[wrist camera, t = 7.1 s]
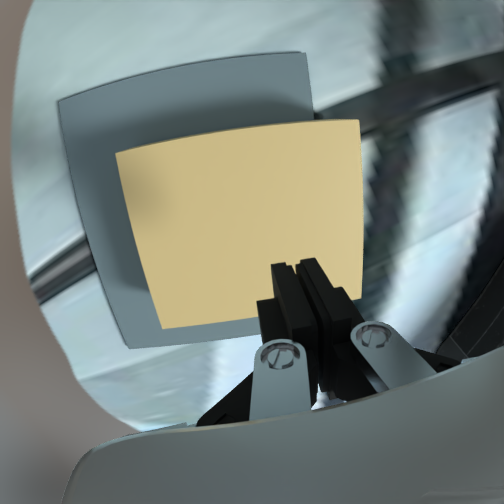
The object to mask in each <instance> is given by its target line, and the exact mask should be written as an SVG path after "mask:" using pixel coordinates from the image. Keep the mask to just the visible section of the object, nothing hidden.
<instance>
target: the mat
mask: <svg viewBox="0 0 504 504" xmlns="http://www.w3.org/2000/svg"><path fill="white" fill-rule="evenodd" d="M59 109H60V116H61V123H62V129H63V135H64V141H65V147H66V152H67V157H68V162H69V167H70V172H71V176H72V181H73V185H74V189H75V193H76V197H77V201H78V205H79V209H80V213H81V217H82V220H83V224H84V227H85V231H86V234H87V238H88V241H89V244H90V247H91V251H92V254H93V257H94V260H95V263H96V266H97V269H98V272H99V275H100V278H101V281H102V283H103V286H104V289H105V292H106V294H107V297H108V300H109V302H110V305H111V308H112V310H113V313H114V315H115V318H116V320H117V323H118V325H119V327H120V330H121V332H122V335H123V337H124V339H125V342H126V344H127V346H128V348H129V349H137V348H149V347H161V346H171V345H181V344H190V343H199V342H207V341H215V340H223V339H231V338H238V337H245V336H252V335H258V334H261V331H260V324H259V318H258V317H252V318H246V319H239V320H232V321H225V322H217V323H210V324H202V325H194V326H186V327H177V328H168V329H162V326H161V323H160V321H159V318H158V315H157V312H156V309H155V306H154V302H153V299H152V296H151V293H150V290H149V287H148V283H147V280H146V277H145V273H144V270H143V267H142V263H141V260H140V256H139V252H138V249H137V245H136V242H135V238H134V234H133V230H132V226H131V222H130V218H129V214H128V210H127V206H126V202H125V197H124V193H123V188H122V184H121V179H120V174H119V169H118V164H117V159H116V154H115V153H118V152H121V151H124V150H127V149H130V148H133V147H137V146H141V145H145V144H150V143H154V142H159V141H164V140H169V139H174V138H179V137H184V136H190V135H195V134H201V133H207V132H213V131H220V130H227V129H233V128H241V127H249V126H257V125H265V124H275V123H285V122H297V121H310V120H314V112H313V103H312V95H311V87H310V79H309V72H308V64H307V58H306V53H285V54H269V55H257V56H246V57H237V58H229V59H221V60H214V61H208V62H202V63H196V64H190V65H185V66H179V67H174V68H170V69H165V70H161V71H156V72H152V73H148V74H144V75H140V76H136V77H132V78H128V79H125V80H121V81H118V82H114V83H111V84H108V85H105V86H101V87H98V88H95V89H92V90H89V91H86V92H83V93H80V94H78V95H75V96H72V97H69V98H67V99H64V100H62V101H59Z"/></svg>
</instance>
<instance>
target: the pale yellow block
mask: <svg viewBox="0 0 504 504" xmlns="http://www.w3.org/2000/svg"><path fill="white" fill-rule="evenodd" d="M115 154H116V159H117V164H118V169H119V174H120V179H121V184H122V188H123V193H124V197H125V202H126V206H127V210H128V214H129V218H130V222H131V226H132V230H133V234H134V238H135V242H136V245H137V249H138V252H139V256H140V260H141V263H142V267H143V270H144V273H145V277H146V280H147V283H148V287H149V290H150V293H151V296H152V299H153V302H154V306H155V309H156V312H157V315H158V318H159V321H160V323H161V326H162V329H168V328H177V327H186V326H194V325H202V324H210V323H217V322H225V321H232V320H239V319H246V318H252V317H258V311H257V304H256V301H258V300H264V299H271V298H274V293H273V284H272V275H271V264H275V263H281V262H286V265H292V267H293V269H294V271H295V264H299V263H300V260H301V259H307V258H313V257H315V258H316V260H317V261H318V263H319V264H320V266H321V267H322V269H323V271H324V272H325V274H326V276H327V277H328V279H329V280H330V282H331V284H332V285H333V287H334V288H335V287H340V286H341V287H343V288H344V290H345V291H346V293H347V294H348V296H349V297H350V299H351V300H354V299H359V298H361V289H362V266H363V180H362V158H361V141H360V128H359V120H353V119H326V120H310V121H297V122H285V123H275V124H265V125H257V126H249V127H241V128H233V129H227V130H220V131H213V132H207V133H201V134H195V135H190V136H184V137H179V138H174V139H169V140H164V141H159V142H154V143H150V144H145V145H141V146H137V147H133V148H130V149H127V150H124V151H121V152H118V153H115ZM295 274H296V271H295Z"/></svg>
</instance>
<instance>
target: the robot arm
mask: <svg viewBox="0 0 504 504" xmlns="http://www.w3.org/2000/svg"><path fill="white" fill-rule="evenodd" d="M295 271H296V274H295ZM295 271H294V269H293V267H292V265H286V262H281V263H275V264H271V275H272V284H273V293H274V298H271V299H264V300H258V301H256V304H257V311H258V318H259V324H260V331H261V337H262V343H263V345H262V346H261V347H260V348H259V349H258V350H257V351H256V354H255V359H254V371H253V372H252V373H251V374H250V375H248V376H247V377H246V378H245V379H244V380H243V381H242V382H241V383H240V384H238V385H237V386H236V387H235V388H234V389H233V390H232V391H231V392H229V393H228V394H227V395H226V396H225V397H224V398H223V399H221V400H220V401H219V402H218V403H217V404H216V405H214V406H213V407H212V408H211V409H210V410H209V411H207V412H206V413H205V414H204V415H203V416H202V417H201V418H200V419H199V420H198V422H197V423H196V424H192V425H187V423H186V422H185V423H181V424H177V425H173V426H169V427H164V428H160V429H155V430H150V431H145V432H140V433H136V434H130V435H126V436H123V437H121V438H118V439H114V440H111V441H108V442H105V443H103V444H101V445H98V446H96V447H94V448H92V449H91V450H89V451H88V452H87V453H85V454H84V455H83V456H82V457H81V458H80V460H79V461H78V463H77V464H76V466H75V468H74V470H73V471H72V474H71V476H70V478H69V481H68V483H67V486H66V489H65V492H64V495H63V498H62V502H61V504H504V346H502V347H499V348H497V349H495V350H493V351H490V352H488V353H486V354H484V355H481V356H478V357H473V358H468V359H462V362H461V363H460V362H459V361H457V360H455V359H452V358H449V357H445V356H441V355H438V354H434V353H430V352H427V351H423V350H419V349H416V348H412V347H411V346H410V345H409V344H408V342H407V341H406V340H405V339H404V338H403V337H402V336H401V335H400V334H399V333H398V332H397V331H396V330H395V329H394V328H392V327H391V326H390V325H388V324H385V323H383V322H378V321H368V322H365V321H364V319H363V318H362V316H361V314H360V313H359V311H358V310H357V308H356V307H355V305H354V304H353V302H352V300H351V299H350V297H349V296H348V294H347V293H346V291H345V290H344V288H343V287H341V286H340V287H335V288H334V287H333V285H332V284H331V282H330V280H329V279H328V277H327V276H326V274H325V272H324V271H323V269H322V267H321V266H320V264H319V263H318V261H317V260H316V258H315V257H313V258H307V259H301V260H300V263H299V264H295ZM318 384H319V387H320V390H321V392H327V394H328V397H329V400H332V399H336V398H339V399H341V400H344V403H341V404H337V405H332V406H328V407H324V408H319V409H315V410H311V408H312V406H313V405H314V404H315V403H316V402H317V393H318Z"/></svg>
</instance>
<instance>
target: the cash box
mask: <svg viewBox="0 0 504 504" xmlns="http://www.w3.org/2000/svg"><path fill="white" fill-rule="evenodd" d="M502 346H504V259H503V261H502V263H501V264H500V266H499V267H498V269H497V270H496V272H495V274H494V275H493V277H492V278H491V280H490V281H489V283H488V284H487V286H486V287H485V289H484V290H483V291H482V293H481V294H480V296H479V297H478V299H477V300H476V301H475V303H474V304H473V305H472V307H471V308H470V309H469V311H468V312H467V313H466V315H465V316H464V317H463V319H462V320H461V321H460V322H459V324H458V325H457V326H456V328H455V329H454V330H453V331H452V332H451V334H450V335H449V336H448V337H447V339H446V340H445V341H444V342H443V343H442V345H441V346H440V348H439V349H438V351H437V353H436V354H438V355H441V356H445V357H449V358H452V359H455V360H457V361H459V362H460V363H461V362H462V359H468V358H473V357H478V356H481V355H484V354H486V353H488V352H490V351H493V350H495V349H497V348H499V347H502Z"/></svg>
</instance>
